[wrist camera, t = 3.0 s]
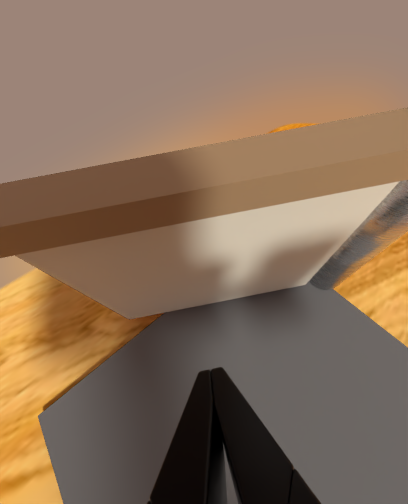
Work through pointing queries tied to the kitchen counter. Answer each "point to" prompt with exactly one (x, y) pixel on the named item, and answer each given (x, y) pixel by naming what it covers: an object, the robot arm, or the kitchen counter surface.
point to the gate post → (367, 239)
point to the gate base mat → (255, 392)
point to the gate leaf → (206, 214)
